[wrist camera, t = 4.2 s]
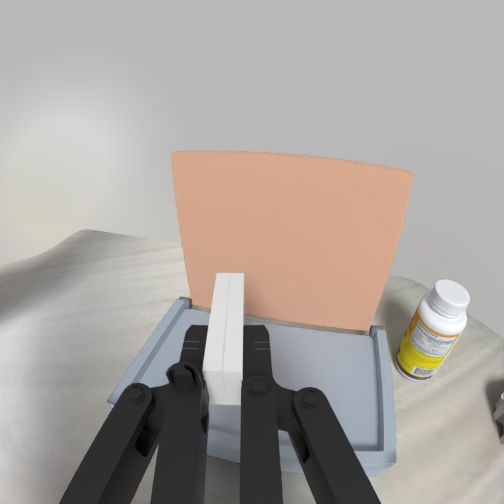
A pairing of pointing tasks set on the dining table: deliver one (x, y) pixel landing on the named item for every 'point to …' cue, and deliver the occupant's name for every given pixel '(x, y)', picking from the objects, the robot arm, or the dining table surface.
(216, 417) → the blue-grey tray
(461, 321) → the supplement bottle
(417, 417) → the dining table surface
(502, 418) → the egg carton
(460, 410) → the dining table surface
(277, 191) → the panel
